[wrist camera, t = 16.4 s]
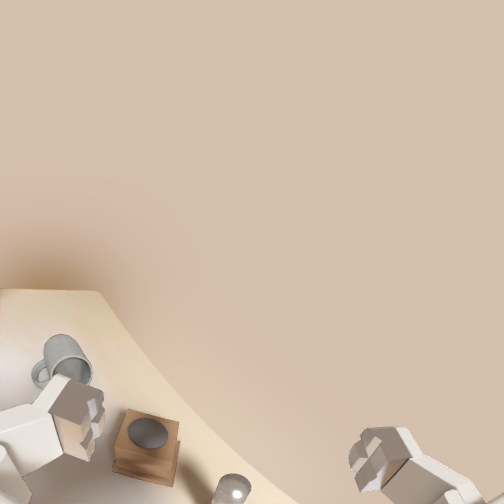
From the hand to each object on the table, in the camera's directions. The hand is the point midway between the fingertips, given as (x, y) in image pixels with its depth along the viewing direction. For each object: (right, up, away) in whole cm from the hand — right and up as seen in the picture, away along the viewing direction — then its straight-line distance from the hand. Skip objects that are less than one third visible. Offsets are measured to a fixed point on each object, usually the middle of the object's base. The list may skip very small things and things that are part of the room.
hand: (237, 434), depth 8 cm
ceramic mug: (-32, -17, +32) cm, 48 cm away
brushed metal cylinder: (-4, -27, +17) cm, 32 cm away
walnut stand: (-14, -23, +24) cm, 36 cm away
